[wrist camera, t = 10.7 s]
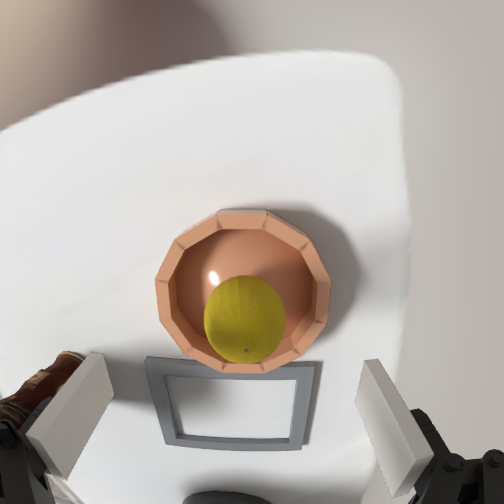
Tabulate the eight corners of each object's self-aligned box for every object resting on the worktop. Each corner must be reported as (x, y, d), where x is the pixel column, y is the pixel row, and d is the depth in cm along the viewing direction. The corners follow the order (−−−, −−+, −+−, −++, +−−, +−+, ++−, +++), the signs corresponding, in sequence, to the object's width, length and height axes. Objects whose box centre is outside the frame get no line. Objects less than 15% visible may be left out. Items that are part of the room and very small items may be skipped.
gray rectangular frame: (300, 445, 30) (301, 450, 30) (167, 439, 31) (165, 444, 30) (313, 361, 27) (315, 366, 26) (147, 356, 27) (144, 360, 26)
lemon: (219, 329, 25) (212, 392, 17) (201, 269, 24) (185, 317, 16) (283, 317, 25) (300, 376, 17) (271, 254, 24) (286, 297, 16)
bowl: (314, 353, 27) (320, 372, 24) (174, 350, 27) (167, 368, 24) (326, 210, 23) (336, 216, 20) (162, 210, 24) (149, 215, 21)
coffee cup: (103, 351, 27) (41, 436, 15) (118, 408, 29) (76, 490, 17) (42, 337, 27) (-25, 401, 15) (59, 392, 30) (10, 459, 17)
